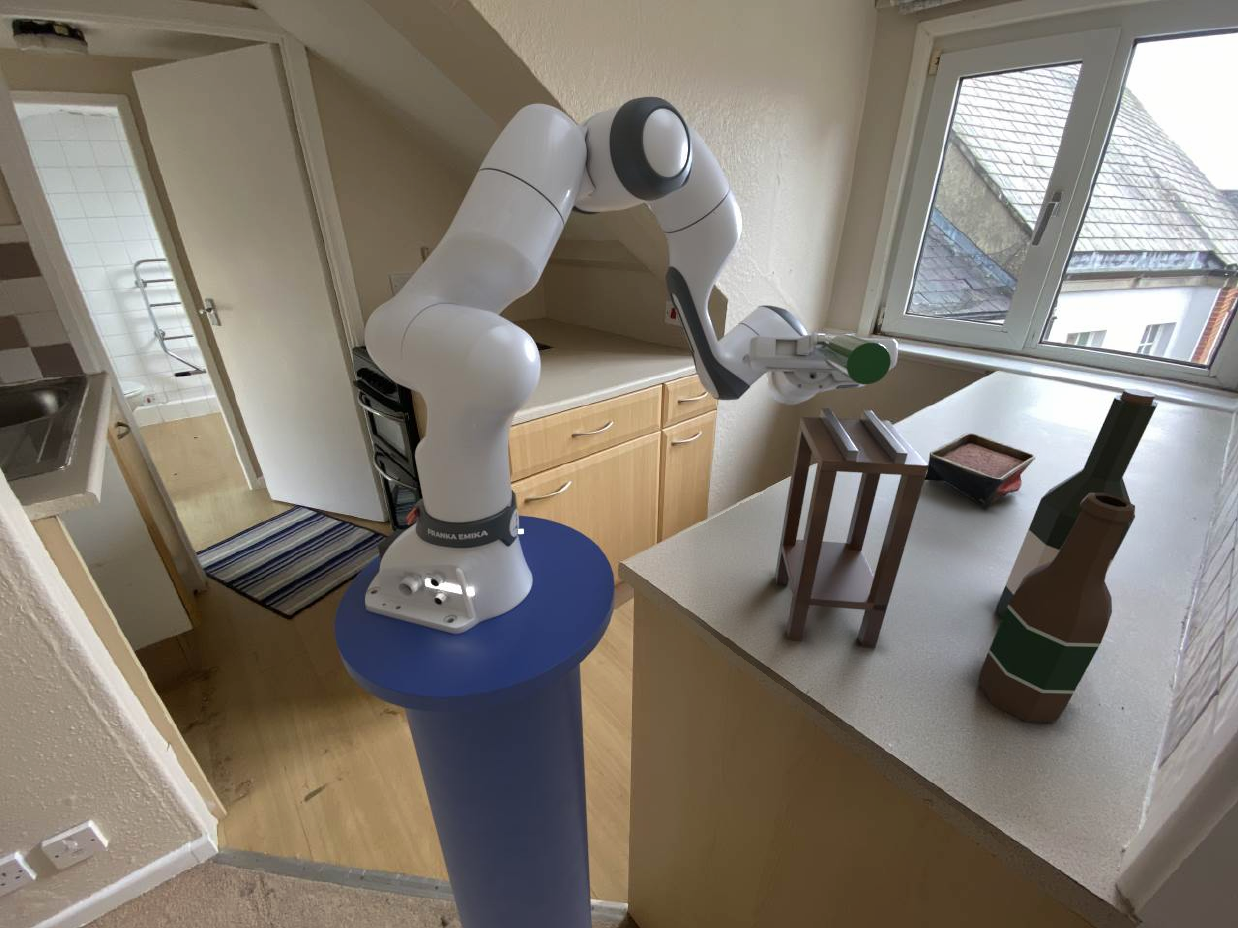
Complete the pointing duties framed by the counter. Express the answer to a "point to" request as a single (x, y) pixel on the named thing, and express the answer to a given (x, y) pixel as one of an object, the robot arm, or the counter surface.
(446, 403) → the robot arm
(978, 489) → the baking dish
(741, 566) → the counter surface
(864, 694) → the counter surface
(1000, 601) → the wine bottle
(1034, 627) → the beer bottle
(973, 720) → the counter surface
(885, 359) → the green bottle
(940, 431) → the counter surface
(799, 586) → the bottle rack
